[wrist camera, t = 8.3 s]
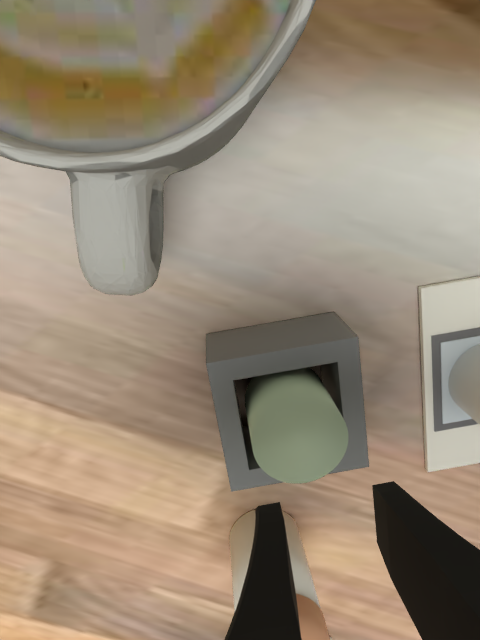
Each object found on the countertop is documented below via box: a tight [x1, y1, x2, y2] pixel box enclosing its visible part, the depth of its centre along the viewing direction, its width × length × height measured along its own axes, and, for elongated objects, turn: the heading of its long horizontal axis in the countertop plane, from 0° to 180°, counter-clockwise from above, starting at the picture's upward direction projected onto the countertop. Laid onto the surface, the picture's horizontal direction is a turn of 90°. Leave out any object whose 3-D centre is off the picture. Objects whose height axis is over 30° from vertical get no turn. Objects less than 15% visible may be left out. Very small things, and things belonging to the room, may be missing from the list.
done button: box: [245, 367, 348, 483], centre depth 18 cm, size 4×4×4 cm
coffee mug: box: [0, 0, 316, 296], centre depth 13 cm, size 13×10×10 cm
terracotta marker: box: [229, 509, 330, 640], centre depth 21 cm, size 4×4×7 cm
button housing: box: [206, 312, 369, 492], centre depth 20 cm, size 6×6×4 cm
